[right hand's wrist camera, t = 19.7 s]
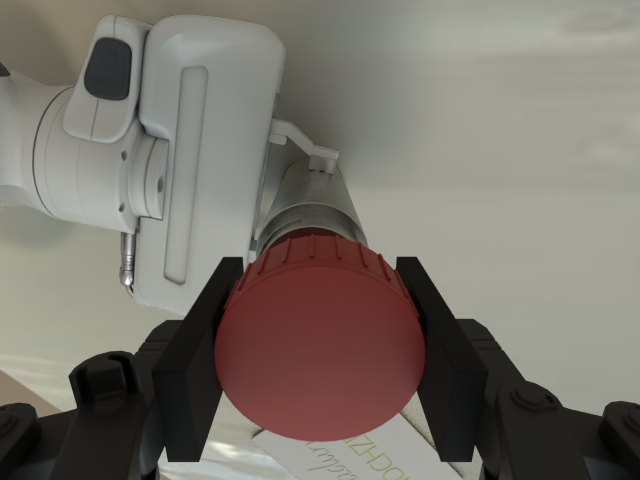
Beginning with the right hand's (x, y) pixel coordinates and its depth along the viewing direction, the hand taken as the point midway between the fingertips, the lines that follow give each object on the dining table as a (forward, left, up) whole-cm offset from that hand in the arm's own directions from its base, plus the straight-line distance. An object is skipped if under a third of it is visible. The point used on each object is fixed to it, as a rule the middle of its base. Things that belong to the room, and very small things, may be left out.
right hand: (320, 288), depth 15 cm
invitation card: (+18, +27, -19) cm, 37 cm away
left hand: (0, 0, -12) cm, 12 cm away
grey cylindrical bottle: (0, 0, -19) cm, 19 cm away
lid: (0, 0, +4) cm, 4 cm away
